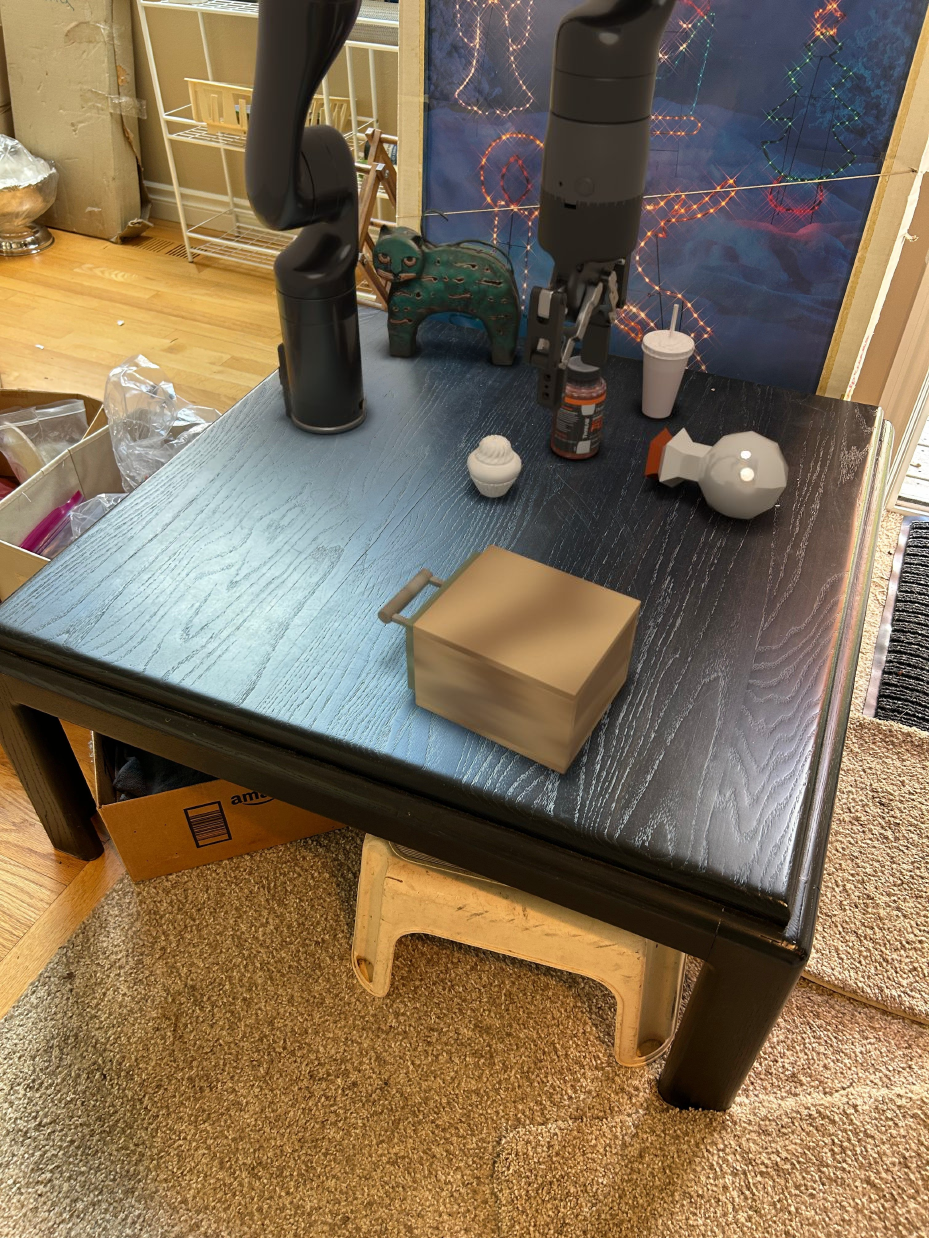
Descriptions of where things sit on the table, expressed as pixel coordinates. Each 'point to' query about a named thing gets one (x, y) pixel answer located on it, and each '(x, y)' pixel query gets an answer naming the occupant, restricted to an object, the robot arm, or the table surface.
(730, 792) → the table surface
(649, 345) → the smoothie
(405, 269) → the ceramic cat
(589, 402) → the supplement bottle
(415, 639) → the cabinet
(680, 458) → the potion bottle
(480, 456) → the muffin
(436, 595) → the drawer
